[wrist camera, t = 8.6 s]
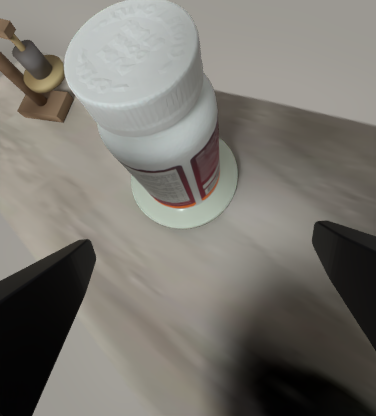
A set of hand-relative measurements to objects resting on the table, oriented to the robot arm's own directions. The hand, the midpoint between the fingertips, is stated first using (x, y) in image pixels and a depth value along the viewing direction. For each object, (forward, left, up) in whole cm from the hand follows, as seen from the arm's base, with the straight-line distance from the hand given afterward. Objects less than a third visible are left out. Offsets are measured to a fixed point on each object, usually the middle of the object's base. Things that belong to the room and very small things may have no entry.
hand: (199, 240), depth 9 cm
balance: (+11, +21, -9) cm, 25 cm away
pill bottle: (+6, +4, -8) cm, 11 cm away
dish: (+6, +4, -9) cm, 11 cm away
